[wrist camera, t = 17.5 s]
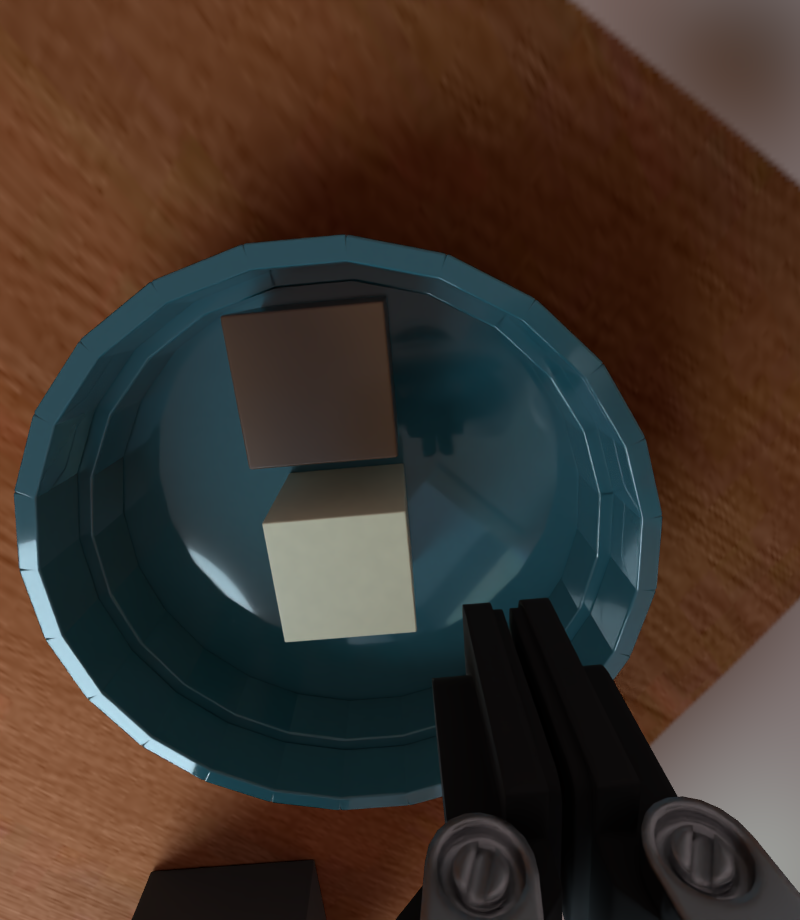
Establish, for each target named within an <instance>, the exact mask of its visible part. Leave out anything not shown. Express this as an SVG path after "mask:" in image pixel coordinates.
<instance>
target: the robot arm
mask: <svg viewBox="0 0 800 920" xmlns="http://www.w3.org/2000/svg"><path fill="white" fill-rule="evenodd" d="M462 615H463V633H464V651H465V669H466V675H464V676H452V677H440V678H432V689H433V702H434V714H435V725H436V736H437V747H438V757H439V767H440V777H441V787H442V797H443V806H444V816H445V824H444V825H443V826H442V827H441V828H440V829H439V830H437V832H436V834H435V835H434V837H433V839H432V841H431V842H430V844H429V846H428V851H427V855H426V859H425V866H424V878H423V886H422V887H421V888H420V890H419V891H418V892H417V893H416V895H415V896H414V897H413V898H412V900H411V901H410V902H409V903H408V905H407V906H406V907H405V908H404V910H403V911H402V912H401V913H400V915H399V916H398V917H397V919H396V920H562V912H563V916H564V920H800V893H799V892H798V891H797V890H796V888H795V887H794V886H793V885H792V883H791V882H790V881H789V880H788V878H787V877H786V876H785V875H784V874H783V872H782V871H781V870H780V869H779V867H778V866H777V865H776V864H775V862H774V861H773V860H772V859H771V857H770V856H769V855H768V854H767V853H766V851H765V850H764V849H763V848H762V846H761V845H760V844H759V843H758V841H757V840H756V839H755V838H754V837H753V836H752V835H751V834H750V832H748V831H747V829H746V828H745V827H744V826H743V825H742V824H741V823H739V821H737V820H736V819H734V818H733V817H732V816H730V815H729V814H727V813H726V812H724V811H723V810H721V809H720V808H718V807H716V806H713V805H711V804H709V803H706V802H704V801H702V800H698V799H693V798H687V797H677V795H676V793H675V791H674V789H673V787H672V786H671V784H670V782H669V780H668V778H667V777H666V775H665V773H664V771H663V769H662V768H661V766H660V764H659V762H658V760H657V759H656V757H655V755H654V753H653V751H652V750H651V748H650V746H649V744H648V742H647V741H646V739H645V737H644V735H643V733H642V732H641V730H640V728H639V726H638V724H637V723H636V721H635V719H634V717H633V715H632V714H631V712H630V710H629V708H628V706H627V704H626V703H625V701H624V699H623V697H622V695H621V694H620V692H619V690H618V688H617V686H616V685H615V683H614V681H613V679H612V677H611V676H610V674H609V672H608V671H607V669H606V668H605V667H604V666H603V665H601V664H598V665H586V666H582V664H581V662H580V659H579V657H578V655H577V653H576V651H575V649H574V647H573V645H572V643H571V641H570V639H569V637H568V635H567V633H566V631H565V629H564V627H563V625H562V623H561V621H560V619H559V617H558V615H557V613H556V611H555V609H554V607H553V605H552V603H551V601H550V600H549V598H535V599H523V600H519V603H518V608H510V610H509V627H508V624H507V621H506V618H505V615H504V613H503V610H502V609H494V610H493V608H492V605H491V603H490V602H487V603H475V604H463V605H462Z"/></svg>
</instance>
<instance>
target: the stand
mask: <svg viewBox="0 0 800 920" xmlns="http://www.w3.org/2000/svg"><path fill="white" fill-rule="evenodd" d="M132 920H326V916H325V911H324V906H323V901H322V896H321V892H320V887H319V882H318V877H317V872H316V867H315V862H314V860H305V861H292V862H278V863H264V864H250V865H236V866H222V867H208V868H194V869H181V870H167V871H153V872H151V874H150V876H149V879H148V881H147V884H146V886H145V889H144V891H143V893H142V896H141V898H140V901H139V903H138V906H137V908H136V910H135V913H134V915H133V918H132Z"/></svg>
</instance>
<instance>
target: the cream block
mask: <svg viewBox="0 0 800 920" xmlns="http://www.w3.org/2000/svg"><path fill="white" fill-rule="evenodd" d="M262 525H263V530H264V536H265V541H266V546H267V551H268V556H269V562H270V567H271V572H272V577H273V583H274V588H275V593H276V598H277V603H278V609H279V614H280V619H281V624H282V630H283V635H284V640H285V642H295V641H308V640H320V639H333V638H345V637H358V636H370V635H383V634H396V633H408V632H416V631H417V625H416V610H415V594H414V579H413V564H412V553H411V541H410V530H409V519H408V508H407V497H406V486H405V475H404V465H403V464H390V465H378V466H367V467H355V468H343V469H332V470H320V471H308V472H297V473H289V475H288V477H287V479H286V481H285V482H284V484H283V486H282V488H281V490H280V492H279V494H278V495H277V497H276V499H275V501H274V503H273V505H272V506H271V508H270V510H269V512H268V514H267V516H266V517H265V519H264V521H263V523H262Z"/></svg>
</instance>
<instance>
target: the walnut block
mask: <svg viewBox="0 0 800 920" xmlns="http://www.w3.org/2000/svg"><path fill="white" fill-rule="evenodd" d="M220 319H221V325H222V330H223V335H224V340H225V345H226V351H227V356H228V361H229V366H230V371H231V376H232V382H233V387H234V392H235V397H236V402H237V408H238V413H239V418H240V423H241V428H242V434H243V439H244V444H245V449H246V454H247V460H248V465H249V468H250V469H263V468H275V467H287V466H299V465H310V464H322V463H334V462H345V461H357V460H369V459H381V458H392V457H397V456H398V427H397V409H396V398H395V387H394V376H393V365H392V354H391V343H390V332H389V321H388V310H387V299H386V297H385V296H381V297H370V298H359V299H348V300H337V301H326V302H315V303H304V304H293V305H282V306H271V307H260V308H256V309H251V310H246V311H241V312H236V313H231V314H226V315H222V316H221V318H220Z"/></svg>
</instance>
